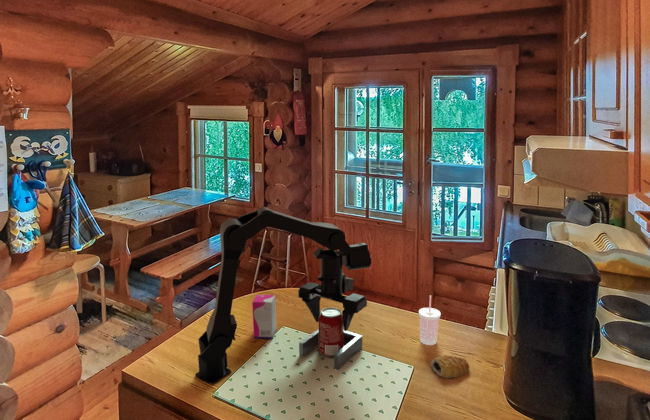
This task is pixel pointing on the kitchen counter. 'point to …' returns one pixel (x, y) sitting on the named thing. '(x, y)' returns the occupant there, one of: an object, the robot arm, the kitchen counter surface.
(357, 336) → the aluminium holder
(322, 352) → the soda can
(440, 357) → the pastry
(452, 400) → the kitchen counter surface
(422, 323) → the beverage cup
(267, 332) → the supplement box
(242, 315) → the kitchen counter surface
